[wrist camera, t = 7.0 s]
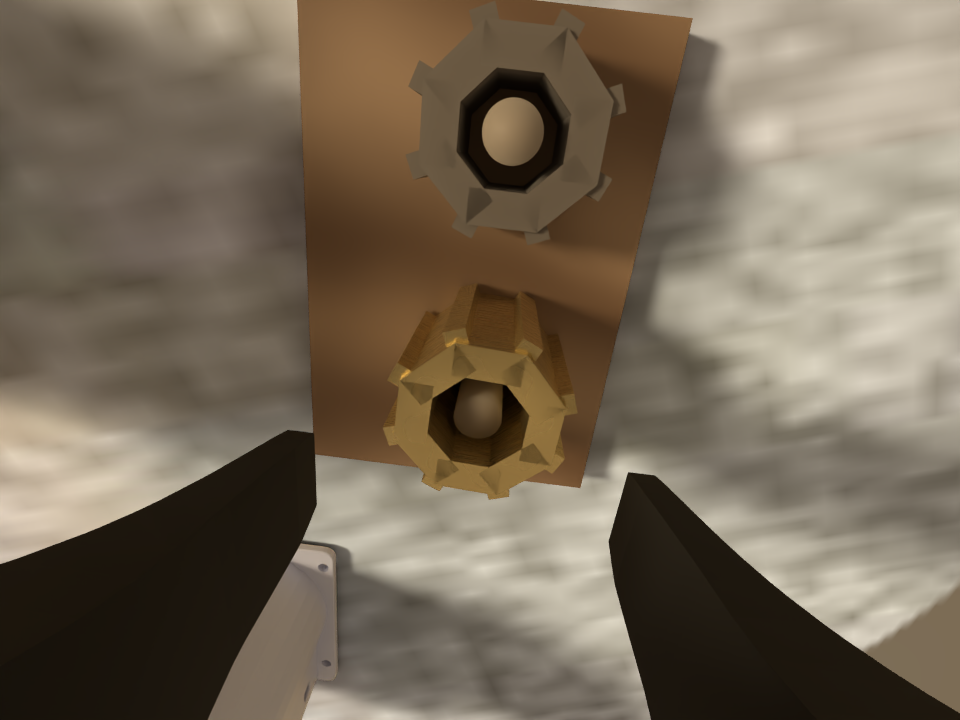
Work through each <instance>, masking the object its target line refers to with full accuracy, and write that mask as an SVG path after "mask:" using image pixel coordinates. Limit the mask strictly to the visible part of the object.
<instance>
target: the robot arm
mask: <svg viewBox="0 0 960 720" xmlns="http://www.w3.org/2000/svg"><path fill="white" fill-rule="evenodd" d="M316 505H317V499H316V469H315V439H314V433H308V432H300V431H292V430H287V431H285V432H283V433H281V434H279V435H277V436H276V437H274V438H272V439H270V440H269V441H267V442H265V443H263V444H262V445H260V446H258V447H256V448H255V449H253V450H251V451H250V452H248V453H246V454H244V455H243V456H241V457H239V458H237V459H236V460H234V461H232V462H230V463H229V464H227V465H225V466H223V467H222V468H220V469H218V470H216V471H215V472H213V473H211V474H209V475H208V476H206V477H204V478H202V479H200V480H198V481H196V482H194V483H192V484H190V485H188V486H186V487H185V488H183V489H181V490H179V491H177V492H175V493H173V494H171V495H169V496H167V497H165V498H163V499H162V500H160V501H157V502H155V503H153V504H151V505H149V506H147V507H145V508H143V509H141V510H138V511H136V512H134V513H132V514H130V515H127V516H125V517H123V518H120V519H118V520H116V521H114V522H111V523H109V524H107V525H104V526H102V527H100V528H97V529H95V530H92V531H90V532H87V533H85V534H82V535H80V536H77V537H74V538H72V539H69V540H66V541H64V542H61V543H58V544H55V545H53V546H50V547H47V548H45V549H42V550H39V551H37V552H34V553H31V554H29V555H26V556H23V557H21V558H18V559H15V560H12V561H9V562H6V563H3V564H0V720H302V717H303V714H304V712H305V709H306V706H307V704H308V701H309V698H310V696H311V693H312V690H313V688H314V685H315V682H316V680H317V679H318V680H325V681H331V680H334V679H335V678H336V675H337V672H338V647H337V587H336V554H335V552H334V551H333V550H332V549H331V548H328V547H323V546H316V545H308V544H301V542H302V539H303V537H304V535H305V532H306V530H307V528H308V525H309V523H310V520H311V518H312V515H313V513H314V510H315V508H316ZM609 548H610V555H611V563H612V569H613V576H614V582H615V587H616V591H617V594H618V598H619V602H620V605H621V609H622V613H623V616H624V620H625V624H626V627H627V631H628V634H629V638H630V641H631V645H632V649H633V652H634V656H635V659H636V663H637V666H638V670H639V673H640V677H641V681H642V684H643V688H644V691H645V696H646V700H647V704H648V708H649V712H650V717H651V720H960V713H958V712H956V711H955V710H953V709H952V708H950V707H948V706H947V705H945V704H943V703H942V702H940V701H938V700H937V699H935V698H933V697H932V696H930V695H928V694H927V693H925V692H924V691H922V690H920V689H919V688H917V687H916V686H914V685H913V684H911V683H909V682H908V681H906V680H905V679H903V678H902V677H900V676H898V675H897V674H895V673H894V672H892V671H891V670H889V669H888V668H886V667H885V666H883V665H882V664H880V663H879V662H877V661H876V660H874V659H873V658H872V657H870V656H868V655H867V654H866V653H864V652H863V651H861V650H860V649H858V648H857V647H855V646H854V645H852V644H851V643H849V642H848V641H847V640H845V639H844V638H842V637H841V636H840V635H838V634H837V633H835V632H834V631H833V630H831V629H830V628H828V627H827V626H826V625H824V624H823V623H822V622H820V621H819V620H818V619H816V618H815V617H814V616H812V615H811V614H810V613H809V612H807V611H806V610H805V609H803V608H802V607H801V606H799V605H798V604H797V603H795V602H794V601H793V600H792V599H790V598H789V597H788V596H786V595H785V594H784V593H783V592H781V591H780V590H779V589H778V588H777V587H775V586H774V585H773V584H772V583H770V582H769V581H768V580H767V579H766V578H765V577H763V576H762V575H761V574H760V573H759V572H758V571H756V570H755V569H754V568H753V567H752V566H751V565H750V564H748V563H747V562H746V561H745V560H744V559H743V558H741V557H740V556H739V555H738V554H737V553H736V552H735V551H734V550H733V549H732V548H730V547H729V546H728V545H727V544H726V543H725V542H724V541H723V540H722V539H721V538H720V537H719V536H718V535H717V534H715V533H714V532H713V531H712V530H711V529H710V528H709V527H708V526H707V525H706V524H705V523H704V522H703V521H702V520H701V519H700V518H699V517H698V516H697V515H696V514H695V513H694V512H693V511H692V510H691V509H690V508H689V507H688V506H687V505H686V504H685V503H684V502H683V501H682V500H680V499H679V498H678V497H677V496H676V495H675V494H674V493H673V492H672V491H671V490H670V489H669V488H668V487H667V486H666V485H665V484H664V483H663V482H662V481H661V480H660V479H658V478H657V477H656V476H654V475H646V474H638V473H630V472H628V475H627V478H626V482H625V485H624V489H623V492H622V496H621V500H620V503H619V507H618V510H617V514H616V517H615V521H614V524H613V528H612V532H611V535H610V539H609ZM324 564H325V565H324ZM326 565H327V566H326Z"/></svg>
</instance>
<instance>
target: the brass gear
mask: <svg viewBox="0 0 960 720" xmlns="http://www.w3.org/2000/svg"><path fill="white" fill-rule="evenodd" d="M464 378H469V379H475V380H481V381H486V382H492V383H498V384H503V399H502V422H501V425H500V427H499V429H498V430H497V431H496V432H495V433H494V434H493V435H491V436H489V437H486V438H480V439H477V438H471V437H468V436H466V435H464V434H463V433H461V432H460V431H459V430H458V428H457V427H456V425H455V422H454V411H455V406H456V402H457V397H458V393H459V388H460V384H461V380H462V379H464ZM387 381H389V382H391V383H392V384H394V385H396V386H398V387H399V390H398V396H397V399H396V401H395V403H394V405H393V407H392V409H391V411H390V413H389V415H388V417H387V420H386V422H385V424H384V426H383V430H384V433H385V436H386V438H387V441H388V444H389V446H391V445H396V444H398V445H399V446H400V447H401V448H402V449H403V450H404V452H405V453H406V454H407V455H408V456H409V457H410V458H411V459H412V461H413V462H414V463H415V464H416V465H417V466H418V467H419V468H420V470H421V471H422V472H423V473H424V475H423V478H422V482H423V483H425V484H427V485H429V486H431V487H432V488H434V489H436V490H438V491H440V490H441V488H442V487H443V486H445V487H451V488H457V489H463V490H468V491H474V492H480V493H486V494H488V498H489V500H490V499H497V498H503V497H509V489H510V488H511V487H513V486H515V485H517V484H519V483H521V482H523V481H524V480H526V479H528V478H530V477H532V476H534V475H536V474H538V473H539V472H541V471H543V470H547V471H548V472H550V473H553V472H554V471H555V470H556V469H557V468H558V466H559V465H560V464H561V463H562V462H563V461H564V459H565V457H564V452H563V446H562V441H561V435H560V432H561V428H562V424H563V420H564V417H565V415H571V414H577V413H578V412H577V407H576V401H575V396H574V391H573V387H572V384H571V380H570V376H569V373H568V369H567V365H566V362H565V358H564V354H563V350H562V347H561V343H560V339H559V336H558V334H553V335H547V334H546V333H545V331H544V330H543V328H542V327H541V325H540V324H539V322H538V316H537V310H536V304H535V300H534V299H532V298H531V297H529V296H528V295H526V294H524V293H523V292H521V291H520V292H519V293H518V295H517V296H516V298H515V299H513V298H507V297H502V296H496V295H490V294H484V293H479V288H478V284H477V283H476V284H472V285H467V286H462V287H460V289H459V291H458V294H457V296H456V299H455V301H454V303H453V304H452V305H450V306H449V307H447V308H446V309H445V310H443V311H442V312H440V313H439V314H437V315H436V316H435V315H433V314H431V313H430V312H428V311H426V312H425V314H424V316H423V317H422V319H421V321H420V322H419V324H418V326H417V328H416V329H415V331H414V333H413V335H412V336H411V338H410V340H409V342H408V344H407V345H406V347H405V349H404V351H403V353H402V354H401V356H400V358H399V360H398V362H397V363H396V365H395V367H394V369H393V371H392V372H391V374H390V376H389V378H388V380H387Z"/></svg>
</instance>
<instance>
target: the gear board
mask: <svg viewBox="0 0 960 720" xmlns="http://www.w3.org/2000/svg"><path fill="white" fill-rule="evenodd" d="M297 6H298V33H299V59H300V86H301V113H302V140H303V167H304V194H305V221H306V248H307V275H308V302H309V329H310V356H311V383H312V410H313V433H314V439H315V454H317V455H325V456H333V457H341V458H349V459H357V460H364V461H372V462H380V463H388V464H396V465H404V466H412V467H418V466H417V465H416V464H415V463H414V462H413V461H412V459H411V458H410V457H409V456H408V455H407V454H406V453H405V452H404V450H403V449H402V448H401V447H400V446H399V445H398V444H396V445H391V446H389V444H388V441H387V438H386V436H385V433H384V430H383V426H384V424H385V422H386V420H387V417H388V415H389V413H390V411H391V409H392V407H393V405H394V403H395V401H396V399H397V396H398V390H399V387H398V386H396V385H394V384H392V383H391V382H389V381H387V380H388V378H389V376H390V374H391V372H392V371H393V369H394V367H395V365H396V363H397V362H398V360H399V358H400V356H401V354H402V353H403V351H404V349H405V347H406V345H407V344H408V342H409V340H410V338H411V336H412V335H413V333H414V331H415V329H416V328H417V326H418V324H419V322H420V321H421V319H422V317H423V316H424V314H425V312H426V311H428V312H430V313H431V314H433V315H435V316H436V315H437V314H439V313H440V312H442V311H443V310H445V309H446V308H447V307H449V306H450V305H452V304H453V303H454V301H455V299H456V296H457V294H458V291H459V289H460V287H462V286H467V285H472V284H476V283H477V284H478V288H479V293H484V294H490V295H496V296H502V297H507V298H513V299H515V298H516V296H517V295H518V293H519V292H520V291H521V292H523V293H524V294H526V295H528V296H529V297H531V298H532V299H534V300H535V304H536V310H537V316H538V322H539V324H540V325H541V327H542V328H543V330H544V331H545V333H546V334H547V335H553V334H558V336H559V339H560V343H561V347H562V350H563V354H564V358H565V362H566V365H567V369H568V373H569V376H570V380H571V384H572V387H573V391H574V396H575V401H576V407H577V412H578V413H577V414H571V415H565V417H564V420H563V424H562V428H561V432H560V435H561V441H562V446H563V452H564V457H565V459H564V461H563V462H562V463H561V464H560V465H559V466H558V468H557V469H556V470H555V471H554V472H553V473H550V472H548V471H547V470H543V471H541V472H539V473H538V474H536V475H534V476H532V477H530V478H528V479H526V480H524V481H530V482H538V483H546V484H553V485H561V486H569V487H577V488H580V487H581V483H582V479H583V474H584V470H585V466H586V462H587V458H588V454H589V449H590V445H591V441H592V437H593V433H594V428H595V424H596V420H597V416H598V412H599V408H600V403H601V399H602V395H603V391H604V387H605V382H606V378H607V374H608V370H609V366H610V362H611V357H612V353H613V349H614V345H615V341H616V336H617V332H618V328H619V324H620V320H621V316H622V311H623V307H624V303H625V299H626V295H627V291H628V286H629V282H630V278H631V274H632V270H633V265H634V261H635V257H636V253H637V249H638V245H639V240H640V236H641V232H642V228H643V224H644V219H645V215H646V211H647V207H648V203H649V199H650V194H651V190H652V186H653V182H654V178H655V173H656V169H657V165H658V161H659V157H660V153H661V148H662V144H663V140H664V136H665V132H666V128H667V123H668V119H669V115H670V111H671V107H672V102H673V98H674V94H675V90H676V86H677V82H678V77H679V73H680V69H681V65H682V61H683V56H684V52H685V48H686V44H687V40H688V36H689V31H690V27H691V23H692V19H693V18H685V17H676V16H667V15H659V14H650V13H641V12H633V11H624V10H615V9H606V8H598V7H589V6H580V5H572V4H563V3H554V2H545V1H537V0H297ZM502 399H503V384H498V383H492V382H486V381H481V380H475V379H469V378H464V379H462V380H461V384H460V388H459V393H458V397H457V402H456V406H455V411H454V422H455V425H456V427H457V428H458V430H459V431H460V432H461V433H463V434H464V435H466V436H468V437H471V438H477V439H480V438H486V437H489V436H491V435H493V434H494V433H495V432H496V431H497V430H498V429H499V427H500V425H501V422H502Z"/></svg>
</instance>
